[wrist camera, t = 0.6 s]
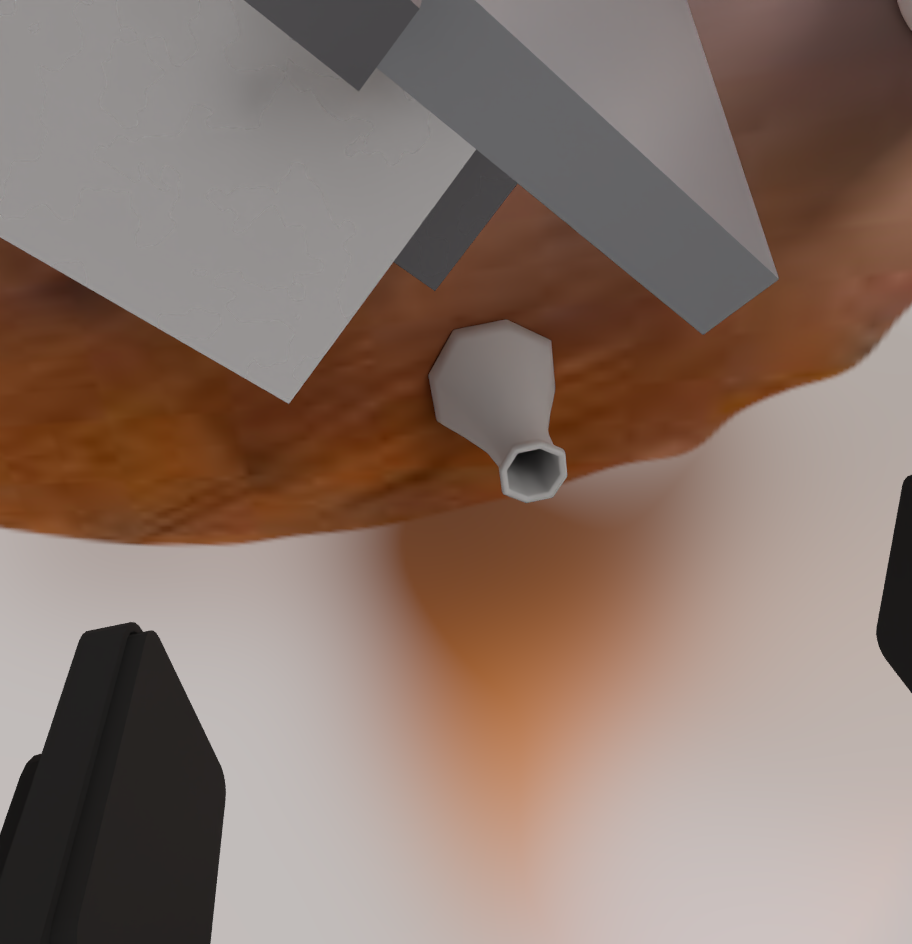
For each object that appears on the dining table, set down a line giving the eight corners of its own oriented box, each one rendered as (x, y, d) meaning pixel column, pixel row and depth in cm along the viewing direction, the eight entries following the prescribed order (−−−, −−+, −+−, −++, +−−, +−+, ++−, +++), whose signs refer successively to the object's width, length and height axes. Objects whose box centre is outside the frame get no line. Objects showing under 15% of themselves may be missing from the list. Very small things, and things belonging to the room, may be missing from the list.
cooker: (26, -570, 27) (-99, -805, 18) (586, -11, 37) (669, 3, 29) (-200, 4, 33) (-367, 25, 25) (330, 338, 44) (337, 432, 36)
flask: (417, 431, 48) (442, 535, 39) (438, 309, 44) (471, 395, 36) (539, 441, 49) (588, 542, 41) (569, 324, 46) (630, 410, 37)
